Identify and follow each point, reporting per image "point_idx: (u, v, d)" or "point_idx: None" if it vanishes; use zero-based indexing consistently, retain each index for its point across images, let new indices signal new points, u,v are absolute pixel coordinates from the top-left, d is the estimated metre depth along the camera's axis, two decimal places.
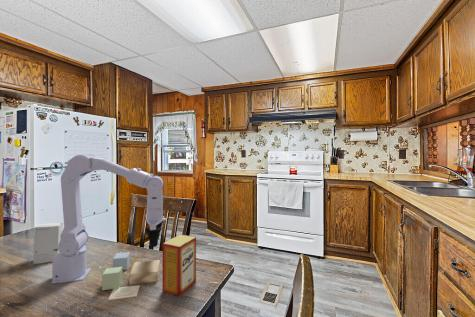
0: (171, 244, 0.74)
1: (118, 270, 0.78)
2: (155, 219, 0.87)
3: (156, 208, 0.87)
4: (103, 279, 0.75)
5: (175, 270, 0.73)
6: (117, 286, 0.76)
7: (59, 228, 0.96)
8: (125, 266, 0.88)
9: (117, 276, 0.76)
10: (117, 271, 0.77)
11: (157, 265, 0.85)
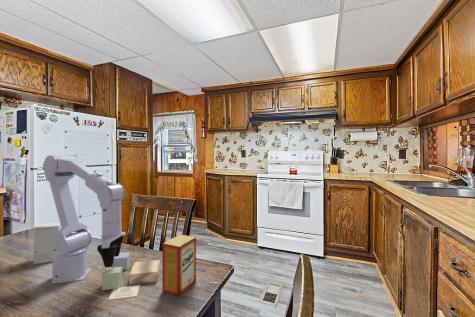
0: (171, 244, 0.74)
1: (118, 270, 0.78)
2: (111, 234, 0.75)
3: (106, 222, 0.74)
4: (103, 279, 0.75)
5: (175, 270, 0.73)
6: (117, 286, 0.76)
7: (59, 228, 0.96)
8: (125, 266, 0.88)
9: (117, 276, 0.76)
10: (117, 271, 0.77)
11: (157, 265, 0.85)
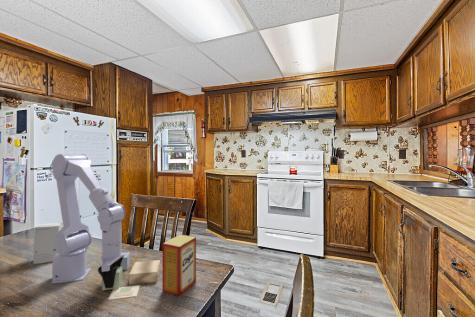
0: (171, 244, 0.74)
1: (118, 270, 0.78)
2: (111, 256, 0.75)
3: (106, 244, 0.74)
4: None
5: (175, 270, 0.73)
6: (117, 286, 0.76)
7: (59, 228, 0.96)
8: (125, 266, 0.88)
9: (117, 276, 0.76)
10: (117, 271, 0.77)
11: (157, 265, 0.85)
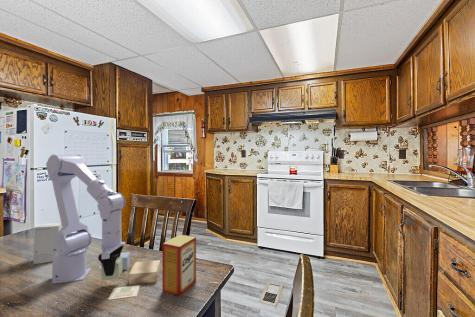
0: (171, 244, 0.74)
1: (117, 261, 0.77)
2: (111, 245, 0.75)
3: (106, 232, 0.74)
4: (102, 270, 0.75)
5: (175, 270, 0.73)
6: (117, 276, 0.76)
7: (59, 228, 0.96)
8: (125, 266, 0.88)
9: (116, 266, 0.76)
10: (116, 262, 0.76)
11: (157, 265, 0.85)
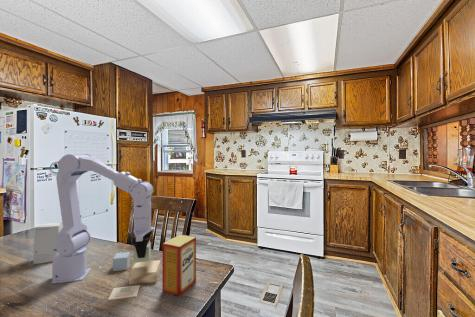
0: (171, 244, 0.74)
1: (147, 245, 0.83)
2: (142, 229, 0.80)
3: (141, 217, 0.80)
4: (134, 253, 0.80)
5: (175, 270, 0.73)
6: (147, 259, 0.81)
7: (59, 228, 0.96)
8: (125, 266, 0.88)
9: (147, 250, 0.81)
10: (147, 246, 0.82)
11: (157, 265, 0.84)
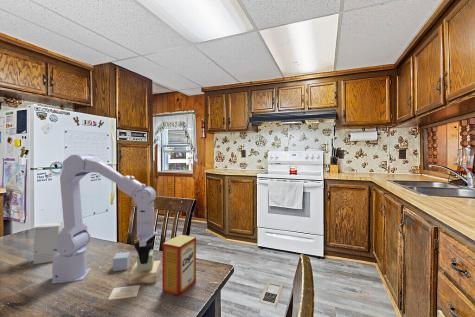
0: (171, 244, 0.74)
1: (150, 253, 0.83)
2: (145, 234, 0.81)
3: (145, 222, 0.81)
4: (138, 261, 0.81)
5: (175, 270, 0.73)
6: (151, 267, 0.82)
7: (59, 228, 0.96)
8: (125, 266, 0.88)
9: (150, 258, 0.82)
10: (150, 254, 0.83)
11: (157, 266, 0.84)
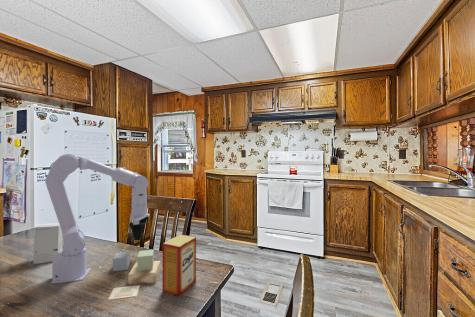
0: (171, 244, 0.74)
1: (151, 253, 0.83)
2: (139, 215, 0.93)
3: (143, 204, 0.94)
4: (138, 261, 0.81)
5: (175, 270, 0.73)
6: (151, 267, 0.82)
7: (59, 228, 0.96)
8: (125, 266, 0.88)
9: (150, 258, 0.82)
10: (150, 254, 0.83)
11: (157, 266, 0.84)
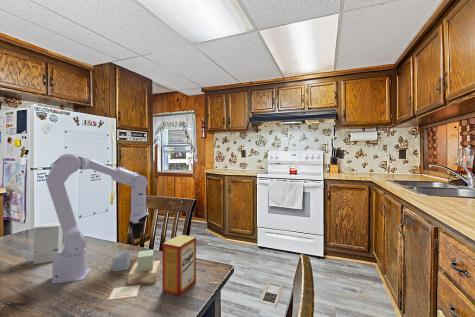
0: (171, 244, 0.74)
1: (151, 253, 0.83)
2: (138, 213, 0.95)
3: (142, 203, 0.96)
4: (138, 261, 0.81)
5: (175, 270, 0.73)
6: (151, 267, 0.82)
7: (59, 228, 0.96)
8: (125, 266, 0.88)
9: (150, 258, 0.82)
10: (150, 254, 0.83)
11: (157, 266, 0.84)
